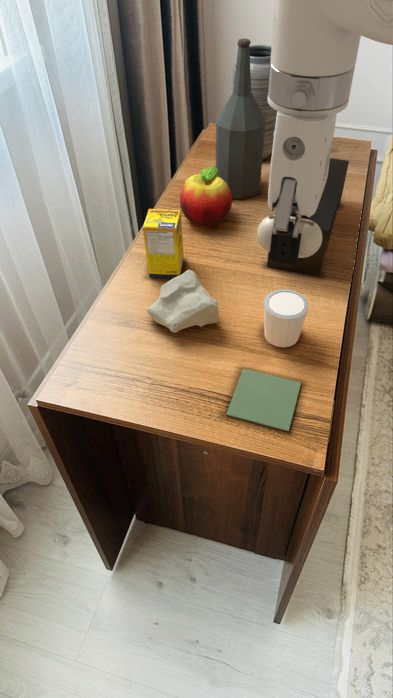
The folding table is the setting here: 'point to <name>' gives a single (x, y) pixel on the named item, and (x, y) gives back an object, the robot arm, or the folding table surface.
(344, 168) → the long dark rectangular box
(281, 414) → the mat
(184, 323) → the decorative stone
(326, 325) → the folding table surface
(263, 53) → the vase
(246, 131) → the bottle
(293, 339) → the white cup
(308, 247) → the cream rounded oblong block
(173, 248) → the supplement box
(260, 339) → the folding table surface
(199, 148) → the folding table surface
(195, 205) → the fruit
